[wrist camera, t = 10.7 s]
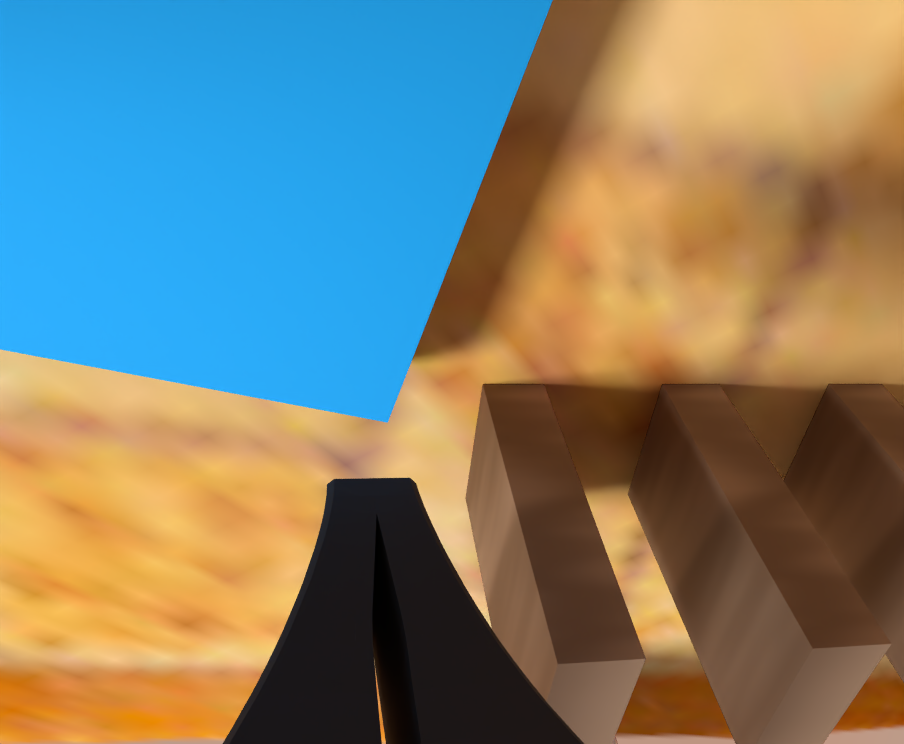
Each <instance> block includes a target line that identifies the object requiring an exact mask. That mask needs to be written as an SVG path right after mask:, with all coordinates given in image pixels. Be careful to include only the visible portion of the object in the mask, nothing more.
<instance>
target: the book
mask: <svg viewBox="0 0 904 744" xmlns="http://www.w3.org/2000/svg"><path fill="white" fill-rule="evenodd" d="M552 1H553V0H0V349H1V350H6V351H12V352H17V353H22V354H28V355H33V356H38V357H43V358H49V359H54V360H59V361H65V362H70V363H75V364H81V365H86V366H91V367H96V368H102V369H107V370H112V371H118V372H123V373H128V374H134V375H139V376H144V377H149V378H155V379H160V380H165V381H171V382H176V383H181V384H187V385H192V386H197V387H202V388H208V389H213V390H218V391H224V392H229V393H234V394H240V395H245V396H250V397H255V398H261V399H266V400H271V401H277V402H282V403H287V404H293V405H298V406H303V407H308V408H314V409H319V410H324V411H330V412H335V413H340V414H346V415H351V416H356V417H361V418H367V419H372V420H377V421H383V422H388V420H389V417H390V415H391V412H392V410H393V407H394V405H395V402H396V400H397V397H398V394H399V392H400V389H401V387H402V384H403V382H404V379H405V377H406V374H407V371H408V369H409V366H410V364H411V361H412V359H413V356H414V354H415V351H416V348H417V346H418V343H419V341H420V338H421V336H422V333H423V331H424V328H425V325H426V323H427V320H428V318H429V315H430V313H431V310H432V308H433V305H434V302H435V300H436V297H437V295H438V292H439V290H440V287H441V284H442V282H443V279H444V277H445V274H446V272H447V269H448V267H449V264H450V261H451V259H452V256H453V254H454V251H455V249H456V246H457V244H458V241H459V238H460V236H461V233H462V231H463V228H464V226H465V223H466V221H467V218H468V215H469V213H470V210H471V208H472V205H473V203H474V200H475V198H476V195H477V192H478V190H479V187H480V185H481V182H482V180H483V177H484V175H485V172H486V169H487V167H488V164H489V162H490V159H491V157H492V154H493V152H494V149H495V146H496V144H497V141H498V139H499V136H500V134H501V131H502V128H503V126H504V123H505V121H506V118H507V116H508V113H509V111H510V108H511V105H512V103H513V100H514V98H515V95H516V93H517V90H518V88H519V85H520V82H521V80H522V77H523V75H524V72H525V70H526V67H527V65H528V62H529V59H530V57H531V54H532V52H533V49H534V47H535V44H536V42H537V39H538V36H539V34H540V31H541V29H542V26H543V24H544V21H545V19H546V16H547V13H548V11H549V8H550V6H551V3H552Z"/></svg>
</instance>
